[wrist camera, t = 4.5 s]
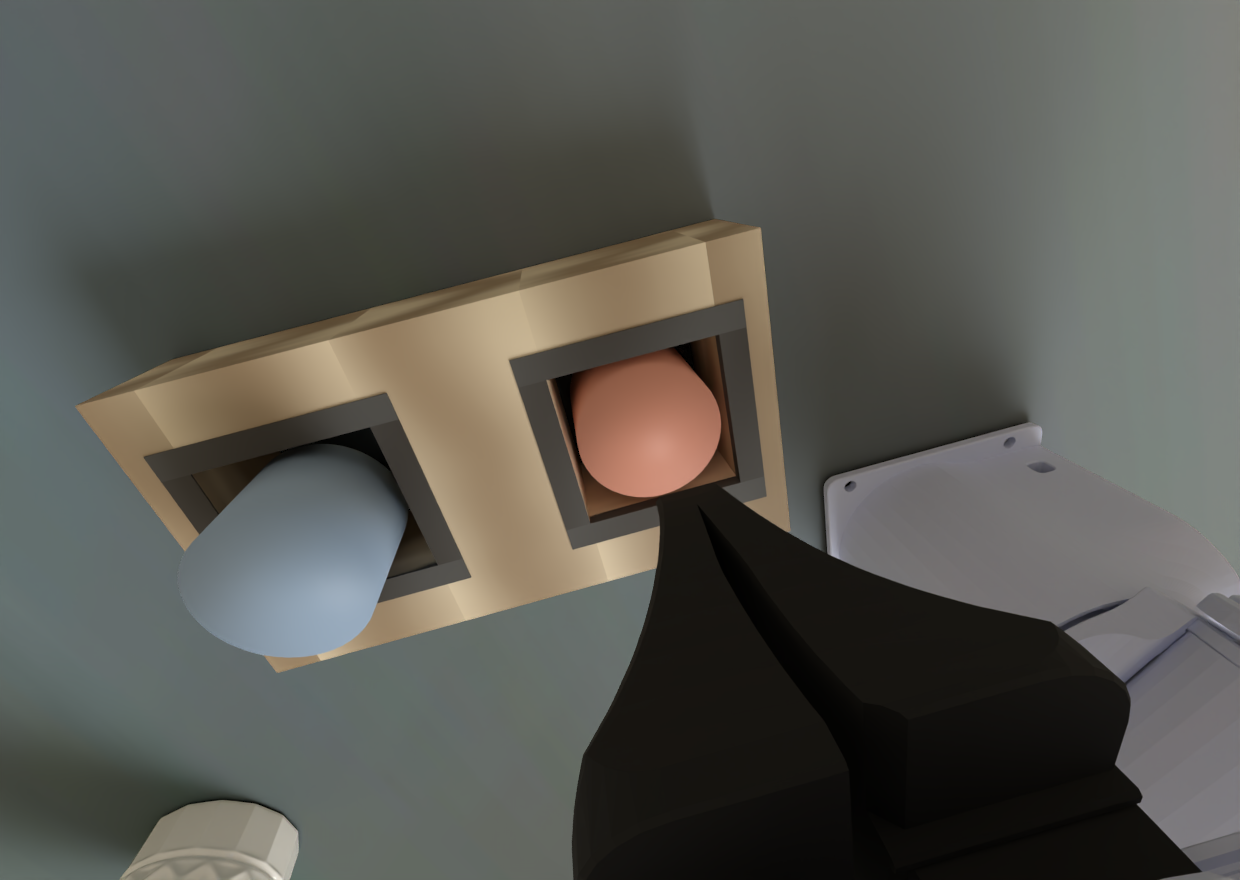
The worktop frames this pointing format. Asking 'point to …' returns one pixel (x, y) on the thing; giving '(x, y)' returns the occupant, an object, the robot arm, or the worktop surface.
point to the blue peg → (297, 553)
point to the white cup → (218, 844)
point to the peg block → (473, 419)
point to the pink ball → (644, 423)
